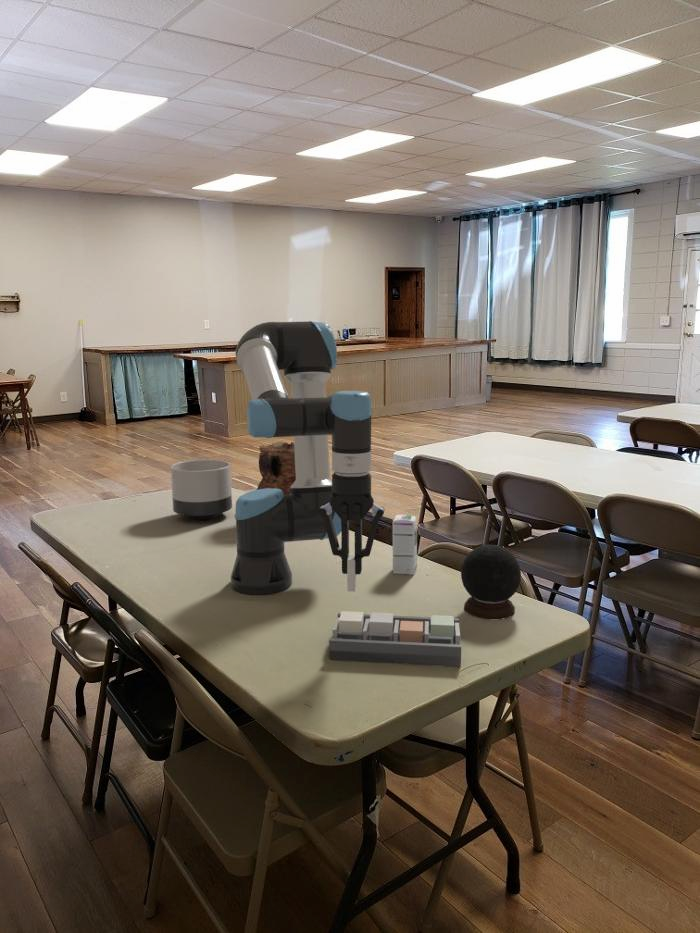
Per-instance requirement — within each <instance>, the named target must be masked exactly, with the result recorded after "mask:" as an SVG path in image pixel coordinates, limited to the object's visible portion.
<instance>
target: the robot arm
mask: <svg viewBox="0 0 700 933" xmlns="http://www.w3.org/2000/svg"><path fill="white" fill-rule="evenodd" d="M335 338H336V337H335V335H334V333H333V330H332V328H331V326H330V325H329V324H327V323H326V322H318V321H312V320H310V321H267V322H262V323H259V324H256V325H255V326H253V327H251V328H250V329H249V330H247V331H245V333H244V334H243V335H242V336H241V338H240V339H239V341H238V342H237V344H236V348H235V349H236V350H235V359H236V363H237V366H238V368H239V371H241V372H242V373H244V377H245V379H246V383H247V386H248V390H249V394H250V397H251V399H250V400H249V401H248V402H247V404H246V424H247V432H248V434H249V435H250V436H251V437H253V438H266V439H271V438H281V437H282V438H283V437H284V438H287V437H293V442H294V452H295V471H296V480H295V482H294V483H293V484H292V485H291V487H290V491H291V494H289V495H284V493H283V491H282V490H281V489H277V488H272V489H271V488H266V489H259V490H257V489H255V490H251V491H248V492H245V493H244V494H242V495H240V496H239V497H238V498H237V500H236V502H235V514H234V519H235V525H236V526H235V528H236V529H235V531H236V532H235V533H236V538H235V539H236V557H235V560H234V564H233V567H232V570H231V574H230V587H231V589H233V590H234V591H235V592H236V591H237V592H239V593H241V594H246V595H268V594H269V595H270V594H275V593H279V592H282V591H284V590H286V589H288V588H289V587H291V586H292V584H293V573H292V570H291V568H290V565H289V561H288V559H287V556H286V553H285V543H288V542H289V543H290V542H303V541H315V540H316V541H317V540H320V541H323V540H325V539H326V540H327V539H328V541H329V545H330V549H331V552H332V553H331V554H332V555H333V556H334V557H336V556H337V557H340V559H341V572H342V574H343V575H346V576H347V578H346V581H347V583H346V584H347V586H346V588H347V589H346V590H347V592H350V593H351V592H353V593H355V592H356V589H357V575H361V573H362V570H363V563H362V562H363V561H362V560H363V558H366V557H370V555H371V553H372V548H373V545H374V540H375V537H376V532H377V529H378V525H379V521H380V520H381V519H382V517H383V516H384V514H385V507H383V506H379V505H378V504H376V503H375V502H374V498H373V496H372V474H371V473H370V471H371V470H372V415H373V408H372V399H371V395H370V393H369V392H367V391H363V390H362V391H361V390H340V391H336V392H334V393H333V394H332V395H328V396H327V395H326V391H327V390H326V382H327V380H329V379H330V377H331V375H332V374H331V373H332V371H331V370H333V369H335V368H336V367H337V364H338V350H337V348H338V347H337V342H336V339H335ZM280 370H281V371H283V376H284V379H285V380H286V381H287V382H289V384H290V392H291V398H290V396H289V393H288V391H287V388H286V386H285V383H284V380H283V378H282V375H281V372H280ZM329 436H331V466H330V451H329V450H330V449H329ZM330 467H331V468H330ZM331 470H332V471H333V473H332V474H331ZM370 510H371V516H372V520H371V523H370V527H369V532H368V534H367V540H366V544H365V547H364V548H363V519H364V518H365V517H366V515H368V513H369V512H370ZM351 520H352V521H353V522H354V524H353V525H354V555H349V554H350V521H351ZM340 534H341V536H340V538H341V542H340V543H339V539H338V536H339V535H340ZM340 544H341V545H340Z"/></svg>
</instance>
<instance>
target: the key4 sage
mask: <svg viewBox="0 0 700 933" xmlns="http://www.w3.org/2000/svg"><path fill="white" fill-rule="evenodd" d="M430 617H431V636H440V637H454V615H436V614H435V615H434V614H431V615H430Z"/></svg>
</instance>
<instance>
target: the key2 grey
mask: <svg viewBox="0 0 700 933" xmlns="http://www.w3.org/2000/svg"><path fill="white" fill-rule="evenodd" d="M370 615H371V616H370V621H369V633H376V634H392V631H393V616H394V613H392V612H370Z"/></svg>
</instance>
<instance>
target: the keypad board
mask: <svg viewBox="0 0 700 933" xmlns="http://www.w3.org/2000/svg"><path fill="white" fill-rule="evenodd" d="M340 615H341V612H340V613H339V612H338V613H337V616H336V618H335V621H334V625H333V628H332V638H329V645H328V647H329V648H328V649H329V651H328V652H329V653H328V654H329V657H328V658H329V661H343V662H363V663H381V664H384V663H385V664H400V665H417V666H419V665H421V666H436V665H437V666H438V665H442V666H443V667H456V666H461V667H462V644H461V630H460V619H459V618H457V617H456V618H454V637H440V636H431V616H410V615H407V616H406V615H393V631H392V634H376V633H369V621H370V616H371V614H367V613H366V614H365V613H364V625H363V629H362V633H355V632H339V618H340ZM401 621H419V622H423V643H417V642H400V623H401Z"/></svg>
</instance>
